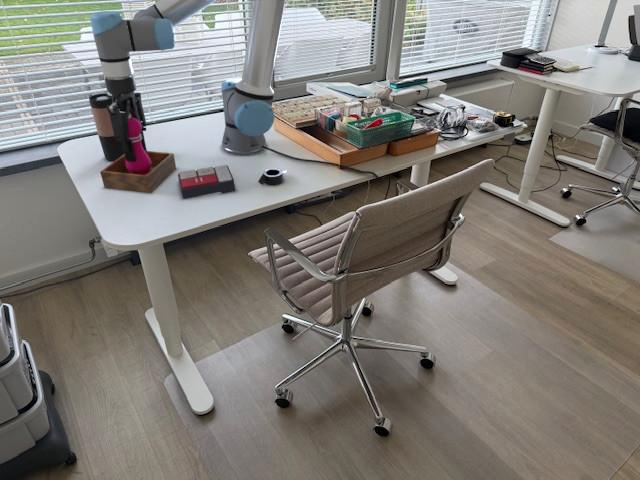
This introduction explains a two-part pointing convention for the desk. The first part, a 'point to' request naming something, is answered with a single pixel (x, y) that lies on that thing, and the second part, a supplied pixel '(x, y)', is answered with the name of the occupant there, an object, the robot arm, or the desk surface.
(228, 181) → the black red grey box
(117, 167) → the wooden box
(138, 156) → the pepper mill
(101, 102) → the travel mug
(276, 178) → the duct tape
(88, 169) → the desk surface
